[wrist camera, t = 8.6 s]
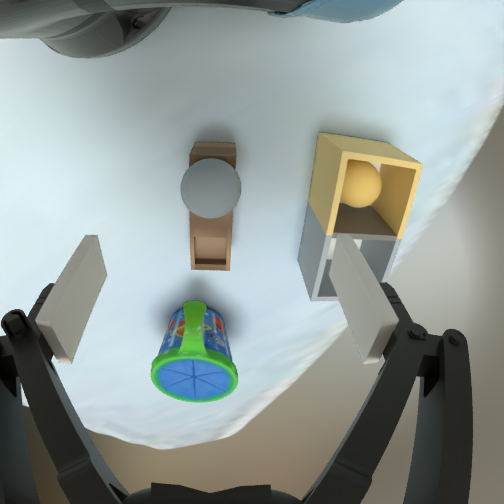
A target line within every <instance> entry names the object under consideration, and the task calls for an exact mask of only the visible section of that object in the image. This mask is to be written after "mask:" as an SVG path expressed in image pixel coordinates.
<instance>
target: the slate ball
mask: <svg viewBox="0 0 504 504" xmlns="http://www.w3.org/2000/svg"><path fill="white" fill-rule="evenodd" d="M240 194H241V182H240V179H239V176H238V174H237V172H236V171H235V169H234V168H233V167H232V166H231V165H229V164H228V163H227V162H225V161H222V160H220V159H214V158H208V159H203V160H200V161H198V162H196V163H194V164H193V165H192V166H190V167H189V169H188V170H187V171H186V172H185V174H184V176H183V179H182V182H181V196H182V199H183V201H184V203H185V205H186V206H187V208H188V209H189V210H190V211H191V212H193V213H194V214H196V215H198V216H200V217H203V218H218V217H221V216H224V215H225V214H227V213H229V212H230V211H231V210H232V209H233V208H234V207H235V206H236V204H237V202H238V200H239V198H240Z"/></svg>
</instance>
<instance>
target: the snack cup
mask: <svg viewBox="0 0 504 504" xmlns="http://www.w3.org/2000/svg"><path fill="white" fill-rule="evenodd" d="M151 379H152V382H153V384H154V385H155V386H156V387H157V388H158V389H159V390H160V391H161V392H163V393H164V394H166V395H168V396H170V397H172V398H175V399H178V400H182V401H187V402H211V401H216V400H219V399H222V398H224V397H226V396H228V395H229V394H231V393H232V392H233V391H234V390H235V388H236V386H237V383H238V374H237V369H236V366H235V365H234V363H233V362H232V356H231V352H230V347H229V343H228V339H227V334H226V330H225V325H224V322H223V320H222V318H221V317H220V315H219V314H216V313H215V312H213V311H212V310H209V309H207V306H206V304H205V303H204V302H201V301H188V302H185V303H184V305H183V309H181V310H179V311H178V312H177V313H175V314H174V315H173V317H172V319H171V321H170V323H169V326H168V330H167V332H166V334H165V337H164V340H163V342H162V345H161V348H160V351H159V354H158V356H157V357H156V358H155V359H154V360H153V362H152V369H151Z"/></svg>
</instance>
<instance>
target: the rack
mask: <svg viewBox="0 0 504 504" xmlns="http://www.w3.org/2000/svg"><path fill="white" fill-rule="evenodd" d="M208 158H214V159H220V160H222V161H225V162H227V163H228V164H229V165H231V166H232V167H233V168H234V169H235V166H236V149H235V143H215V142H195V144H194V146H193V148H192V151H191V153H190V157H189V167H190V166H192V165H193V164H194V163H196V162H198V161H200V160H203V159H208ZM232 217H233V209H232V210H231V211H230V212H229V213H227V214H225V215H224V216H221V217H218V218H203V217H200V216H198V215H196V214H194V213H193V212H191V211H190V254H191V270H224V271H230V256H231V236H232Z"/></svg>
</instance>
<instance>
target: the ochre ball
mask: <svg viewBox="0 0 504 504" xmlns="http://www.w3.org/2000/svg"><path fill="white" fill-rule="evenodd" d="M381 186H382V182H381V177H380V174H379V172H378V170H377V169H376V168H375V167H374V166H373V165H372V164H371V163H370V162H368V161H361V160H354V159H351V160H348V162H347V167H346V172H345V177H344V183H343V188H342V193H341V197H340V200H341V201H342V202H344V203H345V204H347V205H349V206H352V207H356V208H360V207H366V206H368V205H370V204H372V203H373V202H374V201H375V200H376V199H377V198H378V196H379V194H380V191H381Z"/></svg>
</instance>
